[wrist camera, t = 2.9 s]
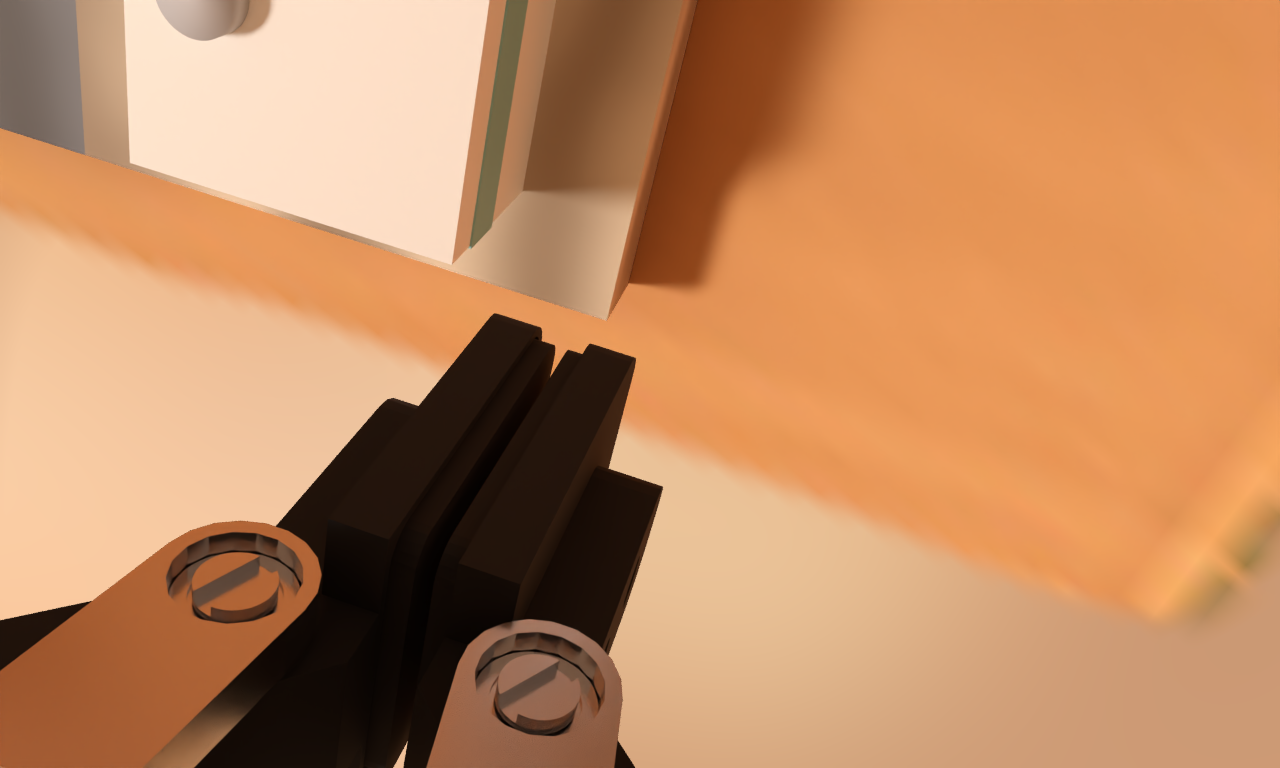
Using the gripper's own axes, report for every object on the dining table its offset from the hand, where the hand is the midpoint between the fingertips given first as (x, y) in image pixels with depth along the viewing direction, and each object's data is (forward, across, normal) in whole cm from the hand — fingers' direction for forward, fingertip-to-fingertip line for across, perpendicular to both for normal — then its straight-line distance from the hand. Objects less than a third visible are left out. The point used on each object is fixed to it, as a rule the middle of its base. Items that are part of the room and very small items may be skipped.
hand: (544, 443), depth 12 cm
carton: (+16, +9, 0) cm, 18 cm away
